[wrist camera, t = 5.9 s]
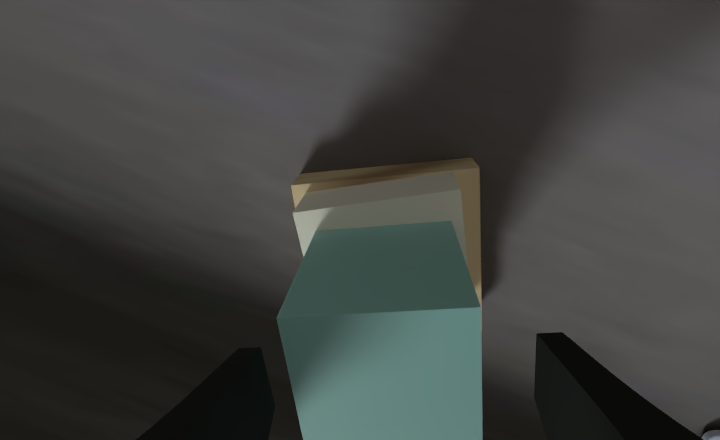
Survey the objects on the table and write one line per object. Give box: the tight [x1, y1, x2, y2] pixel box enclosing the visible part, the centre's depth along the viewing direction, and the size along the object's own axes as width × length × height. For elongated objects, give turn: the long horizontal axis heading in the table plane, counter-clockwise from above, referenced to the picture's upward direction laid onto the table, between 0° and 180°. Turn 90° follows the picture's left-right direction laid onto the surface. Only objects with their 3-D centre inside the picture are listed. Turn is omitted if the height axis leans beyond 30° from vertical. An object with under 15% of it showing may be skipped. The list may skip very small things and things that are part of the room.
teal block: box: [277, 221, 483, 440], centre depth 12 cm, size 4×4×5 cm
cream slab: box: [293, 171, 468, 268], centre depth 15 cm, size 6×6×2 cm
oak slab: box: [291, 157, 482, 330], centre depth 18 cm, size 7×7×2 cm
